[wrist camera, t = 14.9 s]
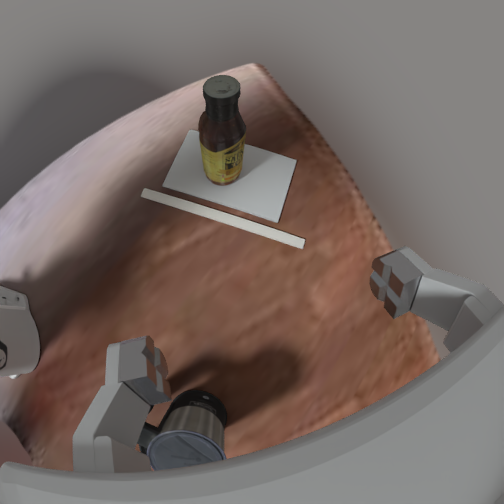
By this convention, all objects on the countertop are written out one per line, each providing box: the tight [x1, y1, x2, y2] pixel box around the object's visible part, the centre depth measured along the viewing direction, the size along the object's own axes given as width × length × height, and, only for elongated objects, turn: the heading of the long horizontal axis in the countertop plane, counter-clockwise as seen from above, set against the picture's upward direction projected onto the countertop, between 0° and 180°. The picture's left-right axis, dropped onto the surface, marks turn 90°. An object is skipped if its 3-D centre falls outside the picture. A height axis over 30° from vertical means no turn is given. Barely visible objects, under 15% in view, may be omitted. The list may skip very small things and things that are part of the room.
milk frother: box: [137, 390, 227, 471], centre depth 30 cm, size 14×16×15 cm
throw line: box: [141, 188, 305, 249], centre depth 43 cm, size 28×2×1 cm, turn 72°
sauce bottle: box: [199, 75, 246, 186], centre depth 35 cm, size 7×6×20 cm
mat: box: [162, 130, 297, 223], centre depth 45 cm, size 20×12×1 cm, turn 72°
